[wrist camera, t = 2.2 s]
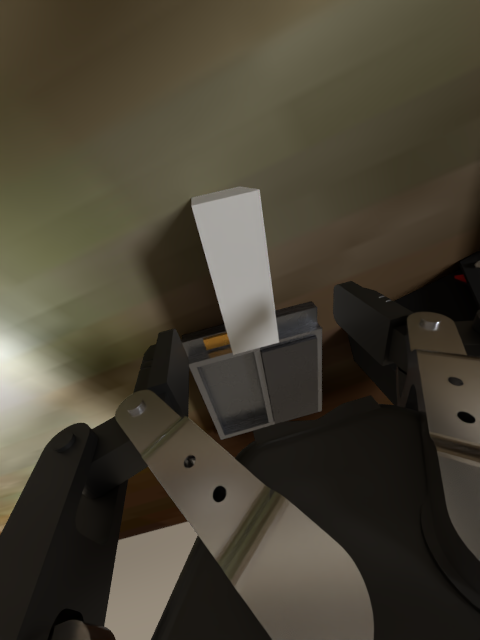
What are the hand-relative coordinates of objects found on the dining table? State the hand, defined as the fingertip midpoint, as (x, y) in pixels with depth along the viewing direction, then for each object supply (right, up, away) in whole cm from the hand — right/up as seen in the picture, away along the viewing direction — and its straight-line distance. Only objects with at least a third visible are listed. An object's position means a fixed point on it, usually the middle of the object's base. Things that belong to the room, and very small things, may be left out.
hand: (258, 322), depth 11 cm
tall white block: (-2, +5, +8) cm, 10 cm away
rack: (+1, -6, +15) cm, 16 cm away
